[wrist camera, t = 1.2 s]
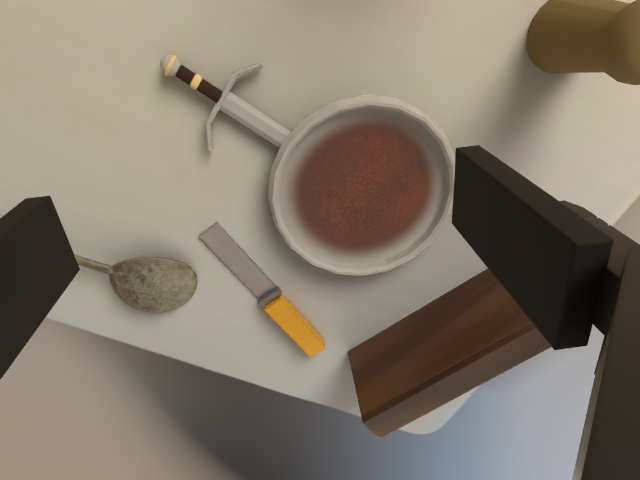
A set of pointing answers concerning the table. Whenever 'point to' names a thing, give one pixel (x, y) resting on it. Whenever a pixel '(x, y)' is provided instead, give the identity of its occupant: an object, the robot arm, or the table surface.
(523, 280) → the robot arm
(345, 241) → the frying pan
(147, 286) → the soupspoon
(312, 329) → the knife
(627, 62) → the cork
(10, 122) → the table surface
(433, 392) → the wooden block
